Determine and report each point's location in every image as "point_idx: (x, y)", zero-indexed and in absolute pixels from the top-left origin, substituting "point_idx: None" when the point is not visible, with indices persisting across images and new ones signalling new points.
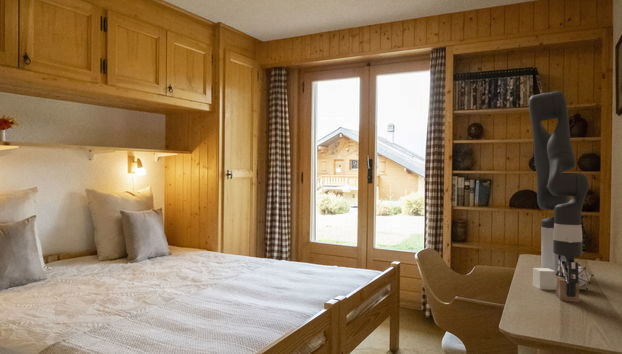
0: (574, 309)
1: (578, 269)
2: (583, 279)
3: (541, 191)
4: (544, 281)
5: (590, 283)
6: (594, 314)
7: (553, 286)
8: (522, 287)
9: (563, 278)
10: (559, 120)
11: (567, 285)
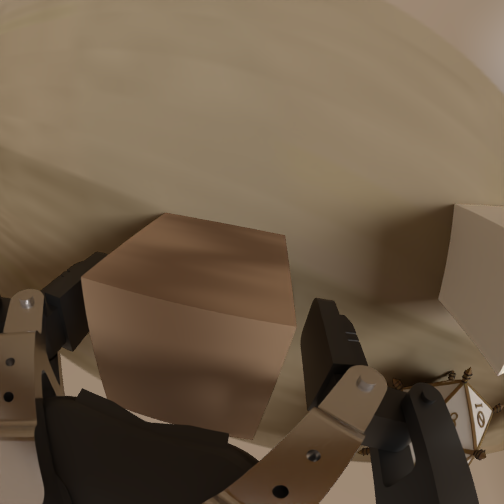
0: (25, 218)
1: None
2: None
3: None
4: (482, 255)
5: (361, 450)
6: (5, 266)
7: (450, 298)
8: (482, 111)
9: (188, 357)
10: None
11: (52, 288)
